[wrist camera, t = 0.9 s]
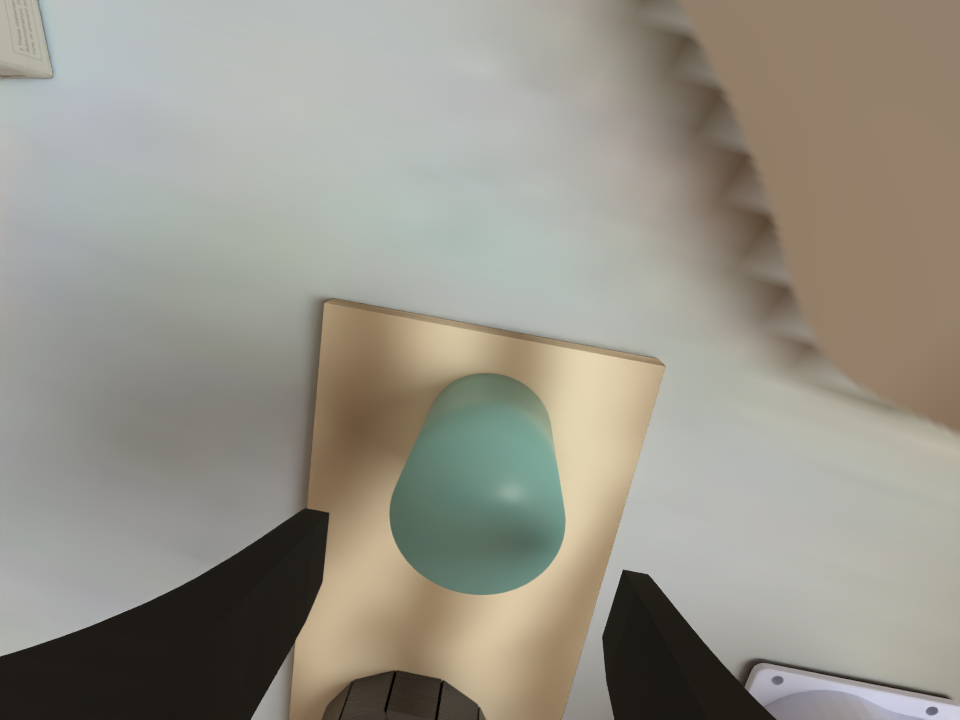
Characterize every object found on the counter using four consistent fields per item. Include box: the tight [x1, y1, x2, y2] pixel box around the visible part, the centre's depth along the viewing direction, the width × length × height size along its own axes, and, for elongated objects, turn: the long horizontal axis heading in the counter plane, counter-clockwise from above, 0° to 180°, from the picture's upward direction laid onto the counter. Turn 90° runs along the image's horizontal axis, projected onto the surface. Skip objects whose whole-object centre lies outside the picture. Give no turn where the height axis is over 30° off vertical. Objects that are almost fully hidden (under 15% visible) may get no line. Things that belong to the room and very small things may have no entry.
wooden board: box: [289, 298, 666, 720], centre depth 23 cm, size 13×26×1 cm, turn 170°
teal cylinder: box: [389, 373, 566, 595], centre depth 17 cm, size 5×5×6 cm
